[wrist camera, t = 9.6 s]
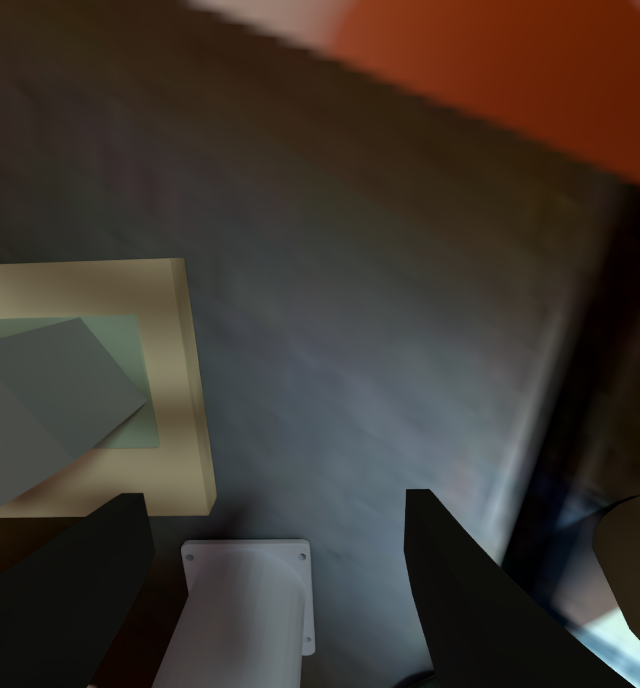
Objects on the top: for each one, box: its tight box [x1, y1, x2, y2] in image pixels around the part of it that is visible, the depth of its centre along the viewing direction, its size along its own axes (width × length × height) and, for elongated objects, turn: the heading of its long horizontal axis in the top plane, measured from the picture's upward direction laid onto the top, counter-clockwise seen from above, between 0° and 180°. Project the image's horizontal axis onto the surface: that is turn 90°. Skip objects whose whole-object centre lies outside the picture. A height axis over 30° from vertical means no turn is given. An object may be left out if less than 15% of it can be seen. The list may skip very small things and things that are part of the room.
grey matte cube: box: [0, 317, 148, 507], centre depth 14 cm, size 5×5×5 cm
